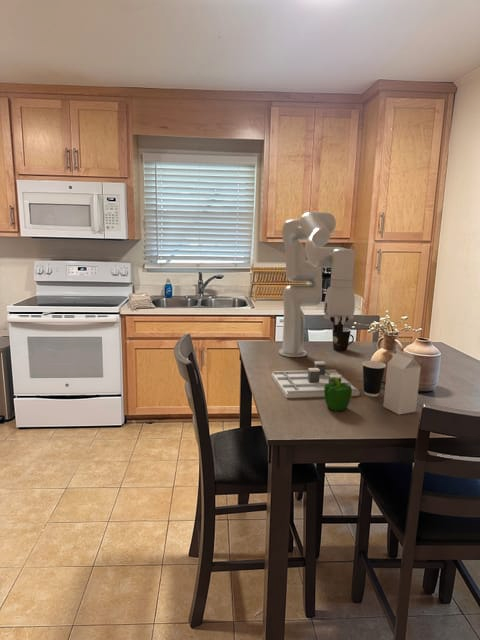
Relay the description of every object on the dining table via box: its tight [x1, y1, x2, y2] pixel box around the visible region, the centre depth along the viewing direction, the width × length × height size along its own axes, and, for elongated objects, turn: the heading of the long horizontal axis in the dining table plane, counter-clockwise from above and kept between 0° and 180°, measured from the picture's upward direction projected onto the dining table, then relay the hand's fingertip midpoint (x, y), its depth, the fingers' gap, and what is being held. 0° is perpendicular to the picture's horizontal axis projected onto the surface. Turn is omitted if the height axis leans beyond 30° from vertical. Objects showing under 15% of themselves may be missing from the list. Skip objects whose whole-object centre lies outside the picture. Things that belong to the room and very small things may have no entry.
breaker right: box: [329, 374, 341, 383], centre depth 157 cm, size 2×4×5 cm, turn 99°
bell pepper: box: [324, 377, 352, 412], centre depth 144 cm, size 8×8×10 cm
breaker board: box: [271, 369, 360, 399], centre depth 165 cm, size 22×26×2 cm
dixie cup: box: [361, 360, 387, 397], centre depth 157 cm, size 8×8×11 cm
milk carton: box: [383, 349, 422, 415], centre depth 143 cm, size 7×7×19 cm
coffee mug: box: [331, 327, 355, 353], centre depth 213 cm, size 12×9×10 cm
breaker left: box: [313, 360, 327, 375], centre depth 173 cm, size 2×4×5 cm, turn 99°
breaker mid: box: [307, 367, 320, 382], centre depth 164 cm, size 2×4×5 cm, turn 99°
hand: (337, 334), depth 162 cm, fingers closed
